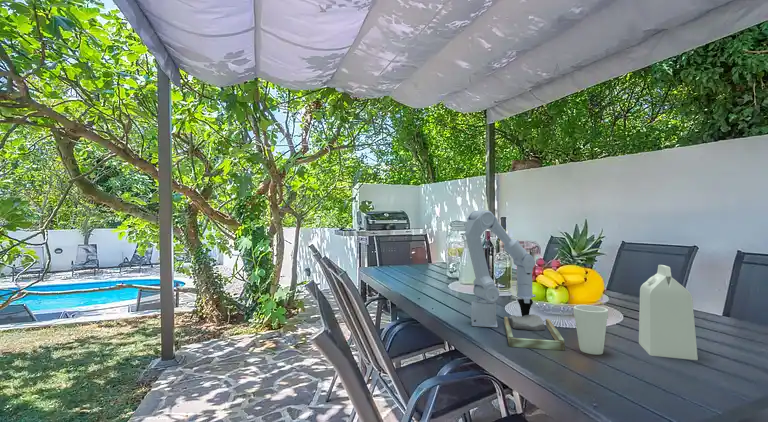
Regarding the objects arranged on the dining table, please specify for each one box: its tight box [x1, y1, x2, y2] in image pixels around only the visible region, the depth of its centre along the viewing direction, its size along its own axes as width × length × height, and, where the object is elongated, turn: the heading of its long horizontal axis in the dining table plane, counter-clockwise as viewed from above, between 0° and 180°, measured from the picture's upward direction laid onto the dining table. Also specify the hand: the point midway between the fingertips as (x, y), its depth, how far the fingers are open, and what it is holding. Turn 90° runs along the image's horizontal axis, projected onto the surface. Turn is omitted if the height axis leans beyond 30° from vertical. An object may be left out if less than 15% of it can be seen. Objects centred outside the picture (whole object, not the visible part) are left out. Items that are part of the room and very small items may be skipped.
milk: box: [638, 264, 698, 361], centre depth 116 cm, size 12×12×26 cm
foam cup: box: [573, 304, 609, 356], centre depth 117 cm, size 10×9×13 cm
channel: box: [503, 316, 566, 351], centre depth 133 cm, size 17×28×3 cm, turn 165°
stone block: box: [508, 314, 546, 332], centre depth 143 cm, size 12×5×10 cm
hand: (525, 317), depth 151 cm, fingers closed
